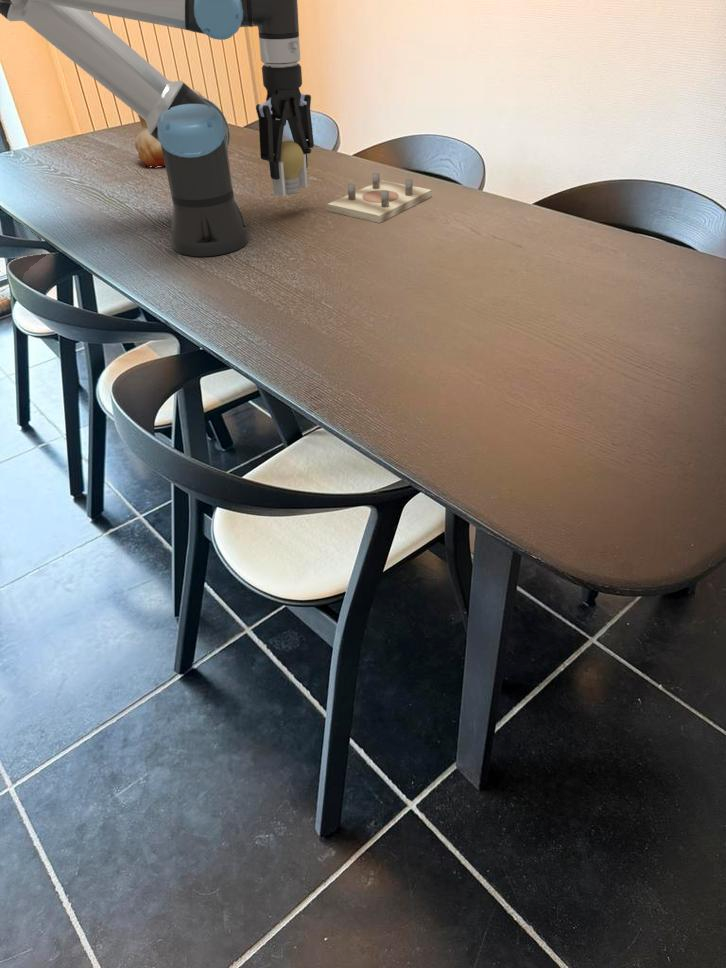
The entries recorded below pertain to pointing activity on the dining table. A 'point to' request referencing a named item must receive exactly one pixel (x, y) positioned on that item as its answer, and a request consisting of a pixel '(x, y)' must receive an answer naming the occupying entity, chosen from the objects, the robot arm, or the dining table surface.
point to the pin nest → (379, 199)
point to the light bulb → (291, 165)
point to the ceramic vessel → (150, 145)
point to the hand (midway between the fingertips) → (290, 190)
